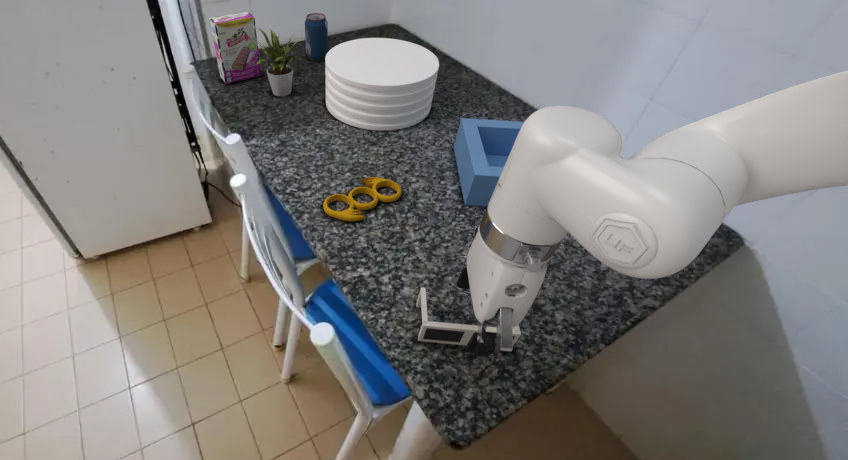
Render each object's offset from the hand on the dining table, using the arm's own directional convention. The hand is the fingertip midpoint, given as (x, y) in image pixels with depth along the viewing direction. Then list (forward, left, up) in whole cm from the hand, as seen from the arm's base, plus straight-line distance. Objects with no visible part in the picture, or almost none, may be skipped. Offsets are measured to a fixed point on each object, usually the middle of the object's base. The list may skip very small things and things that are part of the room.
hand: (472, 317), depth 52 cm
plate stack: (+14, -69, -7) cm, 70 cm away
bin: (-14, -40, -6) cm, 43 cm away
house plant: (+42, -72, -7) cm, 83 cm away
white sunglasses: (0, -3, -6) cm, 7 cm away
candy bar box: (+54, -79, -7) cm, 95 cm away
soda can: (+34, -96, -7) cm, 102 cm away
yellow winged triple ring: (+16, -29, -7) cm, 33 cm away
